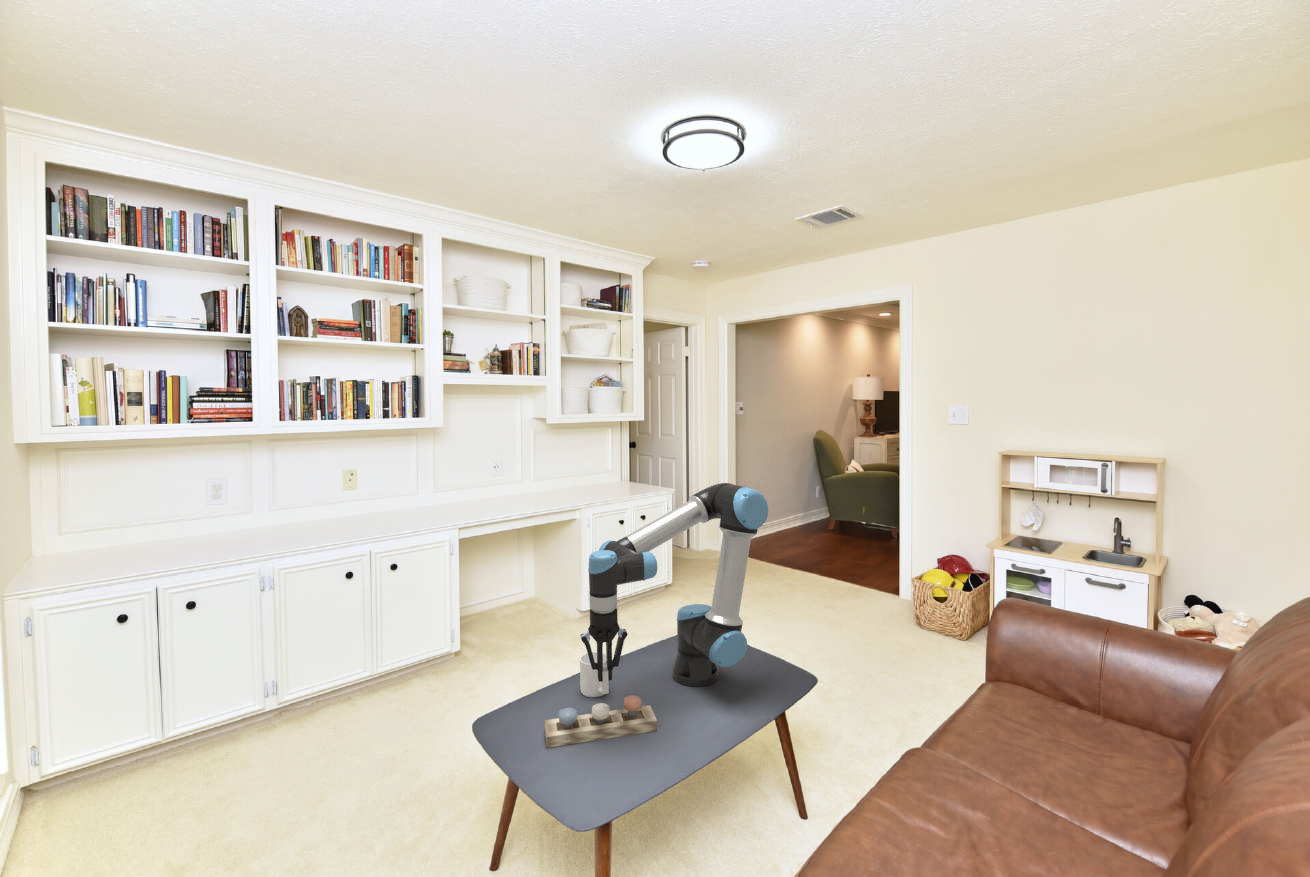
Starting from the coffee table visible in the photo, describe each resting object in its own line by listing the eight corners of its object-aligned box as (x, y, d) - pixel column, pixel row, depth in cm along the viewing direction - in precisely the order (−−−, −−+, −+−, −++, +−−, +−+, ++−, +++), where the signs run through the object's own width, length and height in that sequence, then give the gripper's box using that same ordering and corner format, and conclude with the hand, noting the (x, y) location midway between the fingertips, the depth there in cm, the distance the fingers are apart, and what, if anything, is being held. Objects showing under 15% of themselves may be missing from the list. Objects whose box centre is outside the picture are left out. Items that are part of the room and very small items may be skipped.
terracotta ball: (639, 709, 165) (639, 694, 165) (642, 718, 161) (642, 703, 160) (622, 712, 164) (622, 696, 164) (625, 721, 160) (625, 705, 159)
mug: (594, 706, 173) (593, 671, 172) (575, 689, 183) (575, 656, 182) (618, 697, 178) (618, 663, 177) (599, 681, 188) (598, 649, 187)
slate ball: (575, 722, 161) (575, 706, 161) (577, 732, 156) (577, 716, 156) (558, 724, 160) (557, 709, 159) (559, 734, 155) (559, 718, 155)
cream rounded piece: (607, 717, 163) (607, 702, 163) (610, 727, 159) (610, 711, 158) (590, 719, 162) (590, 704, 162) (593, 729, 157) (593, 713, 157)
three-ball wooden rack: (650, 715, 168) (650, 705, 168) (657, 730, 160) (657, 720, 160) (544, 730, 161) (544, 720, 160) (546, 747, 153) (546, 737, 153)
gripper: (624, 601, 163) (625, 681, 165) (577, 605, 160) (579, 687, 162) (629, 611, 156) (631, 695, 158) (581, 616, 153) (583, 702, 155)
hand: (605, 691), depth 160 cm, fingers closed
